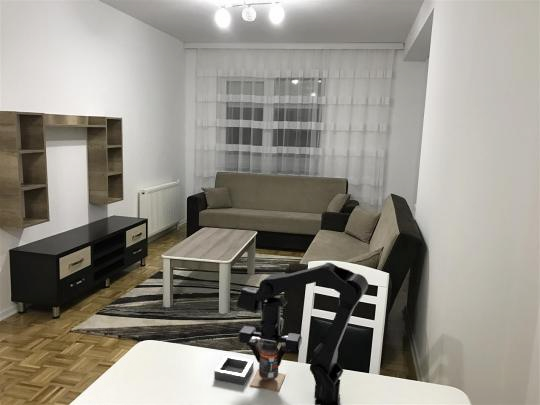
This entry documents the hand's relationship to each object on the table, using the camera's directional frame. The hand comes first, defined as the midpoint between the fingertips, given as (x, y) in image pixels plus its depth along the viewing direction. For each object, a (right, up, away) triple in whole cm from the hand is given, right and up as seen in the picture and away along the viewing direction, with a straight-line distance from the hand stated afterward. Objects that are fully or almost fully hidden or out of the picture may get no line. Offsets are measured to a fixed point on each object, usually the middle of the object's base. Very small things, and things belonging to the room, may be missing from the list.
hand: (268, 363), depth 139 cm
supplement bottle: (0, -4, +1) cm, 4 cm away
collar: (-11, -5, +4) cm, 12 cm away
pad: (0, -6, +1) cm, 6 cm away
